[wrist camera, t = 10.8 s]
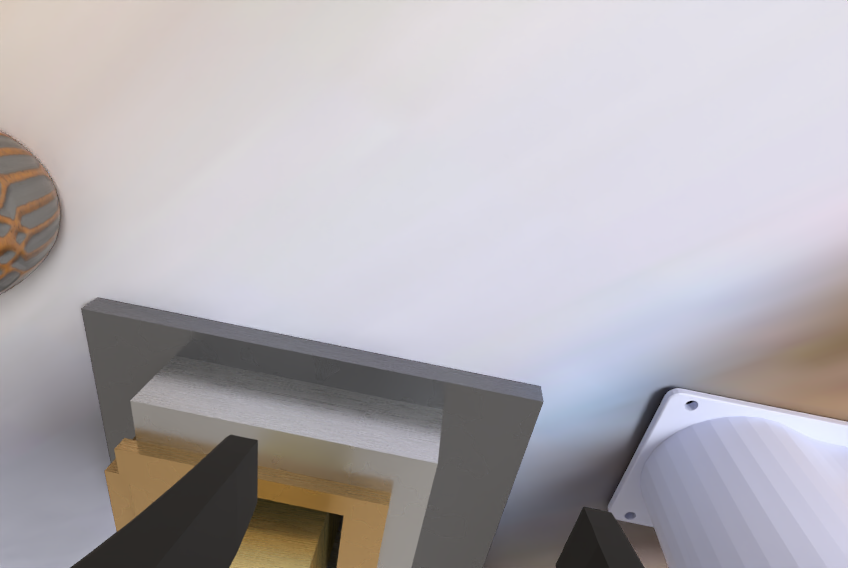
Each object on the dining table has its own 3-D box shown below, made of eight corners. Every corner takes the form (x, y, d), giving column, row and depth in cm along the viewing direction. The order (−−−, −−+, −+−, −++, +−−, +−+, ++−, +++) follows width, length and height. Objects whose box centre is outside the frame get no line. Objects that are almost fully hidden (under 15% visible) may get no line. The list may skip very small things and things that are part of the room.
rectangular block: (344, 458, 23) (288, 631, 16) (341, 517, 25) (289, 693, 18) (258, 444, 23) (167, 608, 16) (262, 503, 25) (181, 672, 18)
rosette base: (540, 386, 21) (555, 469, 17) (469, 586, 28) (467, 680, 24) (97, 297, 21) (6, 357, 17) (135, 516, 28) (76, 597, 24)
